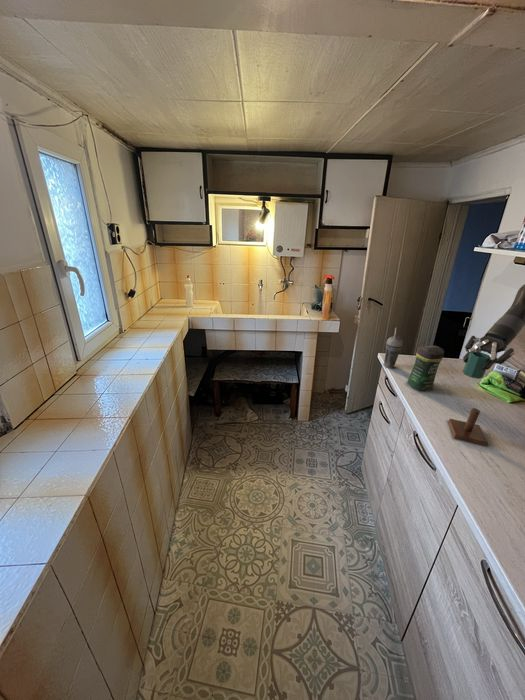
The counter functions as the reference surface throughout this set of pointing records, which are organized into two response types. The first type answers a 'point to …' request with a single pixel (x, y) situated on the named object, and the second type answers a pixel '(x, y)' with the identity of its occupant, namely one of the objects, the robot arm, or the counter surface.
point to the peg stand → (468, 429)
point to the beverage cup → (392, 350)
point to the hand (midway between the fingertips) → (473, 364)
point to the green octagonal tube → (475, 364)
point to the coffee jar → (425, 367)
